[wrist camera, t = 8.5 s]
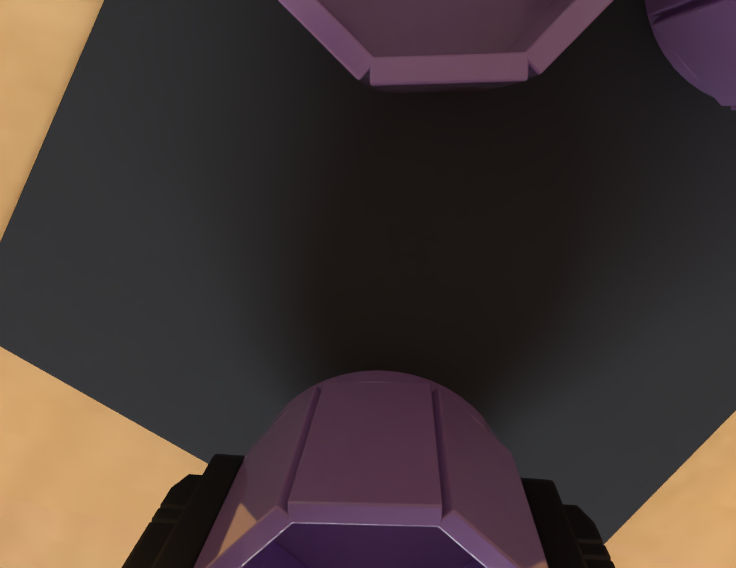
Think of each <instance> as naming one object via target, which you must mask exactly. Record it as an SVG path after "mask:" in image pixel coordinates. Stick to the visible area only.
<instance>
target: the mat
mask: <svg viewBox="0 0 736 568" xmlns="http://www.w3.org/2000/svg"><path fill="white" fill-rule="evenodd" d="M0 346H1V347H2V348H4V349H6V350H8V351H10V352H11V353H13V354H15V355H17V356H18V357H20V358H22V359H24V360H25V361H27V362H29V363H31V364H33V365H34V366H36V367H38V368H40V369H41V370H43V371H45V372H47V373H49V374H50V375H52V376H54V377H56V378H57V379H59V380H61V381H63V382H64V383H66V384H68V385H70V386H72V387H73V388H75V389H77V390H79V391H80V392H82V393H84V394H86V395H87V396H89V397H91V398H93V399H95V400H96V401H98V402H100V403H102V404H103V405H105V406H107V407H109V408H110V409H112V410H114V411H116V412H118V413H119V414H121V415H123V416H125V417H126V418H128V419H130V420H132V421H134V422H135V423H137V424H139V425H141V426H142V427H144V428H146V429H148V430H149V431H151V432H153V433H155V434H157V435H158V436H160V437H162V438H164V439H165V440H167V441H169V442H171V443H172V444H174V445H176V446H178V447H180V448H181V449H183V450H185V451H187V452H188V453H190V454H192V455H194V456H196V457H197V458H199V459H201V460H203V461H204V462H206V463H208V464H209V462H210V461H211V459H212V457H213V456H214V455H215V454H228V455H242V456H246V454H247V452H248V450H249V448H250V447H251V446H252V445H253V444H254V443H255V442H256V441H257V440H259V439H260V438H261V437H262V436H263V435H264V434H265V433H266V431H267V429H268V427H269V426H270V424H271V423H272V421H273V420H274V418H275V417H276V416H277V414H278V413H279V412H280V411H281V410H282V409H283V408H284V407H285V406H286V405H287V404H288V403H289V402H290V401H291V400H293V399H294V398H295V397H296V396H297V395H299V394H300V393H302V392H304V391H305V390H307V389H308V388H310V387H312V386H314V385H316V384H318V383H320V382H322V381H325V380H327V379H330V378H333V377H336V376H340V375H343V374H348V373H354V372H359V371H375V370H380V371H396V372H401V373H406V374H412V375H415V376H418V377H422V378H425V379H428V380H431V381H433V382H435V383H437V384H439V385H442V386H444V387H446V388H448V389H449V390H451V391H452V392H454V393H456V394H457V395H459V396H461V397H462V398H463V399H464V400H465V401H467V402H468V403H469V404H470V405H472V406H473V407H474V408H475V409H476V410H477V411H478V412H479V413H480V414H481V415H482V417H483V418H484V419H485V420H486V421H487V423H488V424H489V426H490V427H491V428H492V430H493V431H494V433H495V435H496V437H497V439H498V441H499V442H500V443H501V444H502V445H503V446H505V447H506V448H507V449H508V450H509V451H510V452H511V453H512V456H513V459H514V461H515V462H516V466H517V469H518V472H519V475H520V477H521V478H534V479H547V480H552V481H553V482H554V484H555V486H556V488H557V491H558V493H559V496H560V498H561V501H562V503H563V504H567V505H577V506H578V507H579V508H580V509H581V510H582V511H583V512H584V513H585V514H586V515H587V516H588V517H589V518H590V519H591V520H592V521H593V522H594V523H595V525H596V527H597V529H598V531H599V533H600V536H601V538H602V540H603V545H604V544H605V543H606V542H607V541H608V540H609V539H610V538H611V537H612V536H613V535H614V534H615V533H616V532H617V531H618V529H619V528H620V527H621V526H622V525H623V524H624V523H625V522H626V521H627V520H628V519H629V518H630V517H631V516H632V515H633V514H634V513H635V512H636V511H637V510H638V509H639V508H640V507H641V506H642V505H643V504H644V503H645V502H646V501H647V500H648V499H649V498H650V497H651V496H652V495H653V494H654V493H655V492H656V491H657V490H658V489H659V488H660V487H661V486H662V485H663V484H664V483H665V482H666V481H667V480H668V479H669V478H670V477H671V476H672V475H673V474H674V473H675V472H676V471H677V470H678V469H679V467H680V466H681V465H682V464H683V463H684V462H685V461H686V460H687V459H688V458H689V457H690V456H691V455H692V454H693V453H694V452H695V451H696V450H697V449H698V448H699V447H700V446H701V445H702V444H703V443H704V442H705V441H706V440H707V439H708V438H709V437H710V436H711V435H712V434H713V433H714V432H715V431H716V430H717V429H718V428H719V427H720V426H721V425H722V424H723V423H724V422H725V421H726V420H727V419H728V418H729V417H730V416H731V415H732V414H733V413H734V412H735V411H736V110H731V106H721V105H720V104H719V102H718V101H717V100H716V99H715V98H713V97H712V96H710V95H708V94H706V93H704V92H702V91H700V90H699V89H697V88H696V87H695V86H693V85H692V84H691V83H689V82H688V81H687V80H686V79H685V78H684V77H682V76H681V75H680V74H679V73H678V72H677V71H676V70H675V69H674V67H673V66H672V65H671V63H670V62H669V61H668V59H667V58H666V57H665V55H664V54H663V52H662V50H661V48H660V46H659V44H658V42H657V41H656V39H655V36H654V34H653V31H652V28H651V25H650V22H649V20H648V15H647V10H646V5H645V1H644V0H614V1H613V2H612V3H611V4H610V5H609V6H608V7H607V8H606V9H605V10H604V11H603V12H602V13H601V14H600V15H599V16H598V17H597V18H596V19H595V20H594V21H593V22H592V23H591V24H590V25H589V26H588V27H587V28H586V29H585V30H584V31H583V32H582V33H581V34H580V35H579V36H578V37H577V38H576V39H575V40H574V41H573V42H572V43H571V44H570V45H569V46H568V47H567V48H566V49H565V50H564V51H563V52H562V53H561V54H560V55H559V57H558V58H557V59H556V60H555V61H554V62H553V63H552V64H551V65H550V66H549V67H548V68H547V69H546V70H545V71H544V72H543V73H541V74H539V75H535V76H532V77H528V79H527V80H526V81H523V82H519V83H515V84H511V85H507V86H503V87H499V88H494V89H490V90H478V91H445V92H435V93H429V92H412V93H381V92H379V91H378V90H377V89H375V88H374V89H371V88H369V87H368V86H366V85H365V84H363V83H361V82H360V81H358V80H357V79H356V78H355V77H354V76H353V75H352V74H351V73H350V72H349V71H348V70H347V69H346V68H345V67H344V66H343V65H342V64H341V63H340V62H339V61H338V60H337V59H336V58H335V57H334V56H333V55H332V54H331V53H330V52H329V51H328V50H327V49H326V48H325V47H324V46H323V45H322V44H321V43H320V42H319V41H318V40H317V39H316V38H315V37H314V36H313V35H312V34H311V33H310V32H309V31H308V30H307V29H306V28H305V27H304V26H303V25H302V24H301V23H300V22H299V21H298V20H297V19H296V18H295V17H294V16H293V15H292V14H291V13H290V12H289V11H288V10H287V9H286V8H285V7H284V6H283V5H282V4H281V3H280V2H279V1H278V0H104V2H103V5H102V7H101V9H100V12H99V14H98V16H97V19H96V21H95V23H94V26H93V28H92V30H91V33H90V35H89V37H88V40H87V42H86V44H85V47H84V49H83V51H82V54H81V56H80V58H79V61H78V63H77V65H76V68H75V70H74V72H73V74H72V77H71V79H70V81H69V84H68V86H67V88H66V91H65V93H64V95H63V98H62V100H61V102H60V105H59V107H58V109H57V112H56V114H55V116H54V119H53V121H52V123H51V126H50V128H49V130H48V133H47V135H46V137H45V140H44V142H43V144H42V147H41V149H40V151H39V154H38V156H37V158H36V161H35V163H34V165H33V168H32V170H31V172H30V175H29V177H28V179H27V182H26V184H25V186H24V189H23V191H22V193H21V196H20V198H19V200H18V203H17V205H16V207H15V210H14V212H13V214H12V217H11V219H10V221H9V224H8V226H7V228H6V231H5V233H4V235H3V237H2V240H1V242H0Z"/></svg>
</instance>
